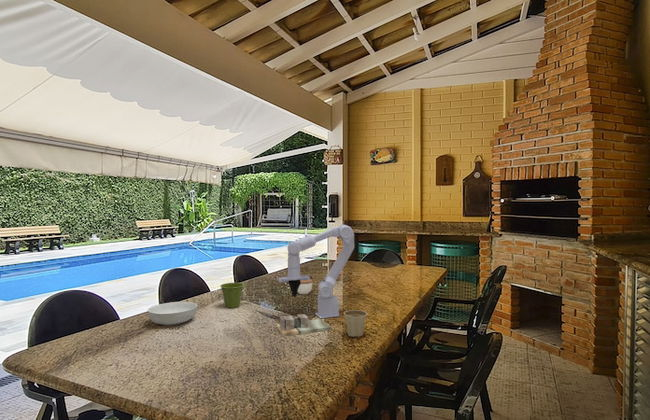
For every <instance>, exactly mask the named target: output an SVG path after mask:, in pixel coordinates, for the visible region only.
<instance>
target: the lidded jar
mask: <svg viewBox="0 0 650 420" xmlns="http://www.w3.org/2000/svg"><path fill="white" fill-rule="evenodd" d="M300 282H301V284H300V286H299V288H298V291H297V294H299V295H308V294H309V293H310V292H311V291H312V290H313V285H314V284H313V282H314V280H313V279H311V278H309V280H301V281H300Z"/></svg>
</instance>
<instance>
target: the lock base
mask: <svg viewBox="0 0 650 420" xmlns="http://www.w3.org/2000/svg"><path fill="white" fill-rule="evenodd" d="M297 318H299V319H300V320H301V327H294V319H295V318H293V316H292V315H283V316H279V323H277V324H276V329H277V330H278V331H279V333H280V334H281V335H282V336H283V337H289V336H295V335H303V334H304V335H305V334H310V333H317V332H325V331H331V330H332V326H331V325H330V324H329V323H327V322H326V321H324V320H323V318H319V319H318V318H317V319H309V316H307V315H306V314H305V313H304V314H303V313H302V314H301V313H299V314H297ZM285 323H286V326H285Z"/></svg>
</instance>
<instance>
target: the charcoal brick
mask: <svg viewBox="0 0 650 420" xmlns="http://www.w3.org/2000/svg"><path fill="white" fill-rule="evenodd" d="M285 326H286V323H285ZM294 327H301V320H300V319H299V318H298V317H297V318H294Z"/></svg>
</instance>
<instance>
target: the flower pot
mask: <svg viewBox="0 0 650 420" xmlns="http://www.w3.org/2000/svg"><path fill="white" fill-rule="evenodd" d="M343 315H344V318H345V322H346V331H347V335H348V337H353V338H354V337H362V336H363V335H364V331H365V322H366V319H367V316H368V312H366V311H364V310H358V309H352V310H351V309H350V310H345V311H344V312H343Z"/></svg>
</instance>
